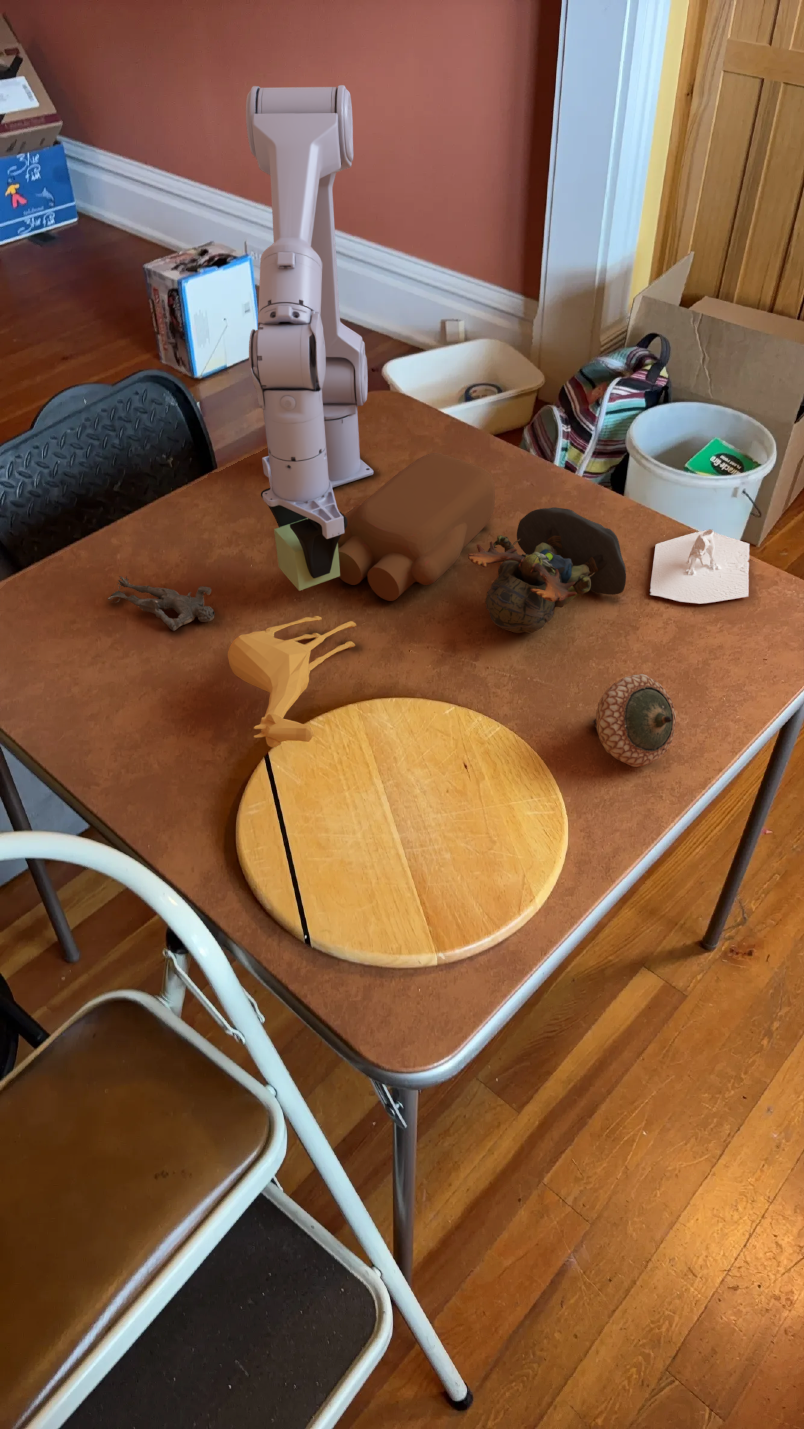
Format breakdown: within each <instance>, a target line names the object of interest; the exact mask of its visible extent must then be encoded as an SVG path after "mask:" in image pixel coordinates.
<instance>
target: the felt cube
mask: <svg viewBox="0 0 804 1429" xmlns="http://www.w3.org/2000/svg"><path fill="white" fill-rule="evenodd" d="M306 519H308V518H306ZM303 520H304V519H303ZM300 521H301V520H300ZM297 522H298V521H297ZM294 523H295V522H294ZM291 524H292V523H291ZM273 531H274V532H273V533H274V541H275V547H276V557H277V563H278V565H277V566H278V568H279V570H280V571H281V572H282V573H283V574H284V576H286V578H287V579H288V581H290V582H291V584H292V585H293V586H294V587H295V588H296V590H298V591H299V592H300V591H303V590H306V589H309V588H311V587H314V586H317V585H320V584H322V583H325V582H328V581H331V580H333V579H336V578H339V576H340V567H339V554H338V543H337V546H336V549H335V553H334V557H333V562H332V567H331V571H330V573H329V574H326V575H323V576H320V577H318V578H313V577H312V576H311V575H310V573H309V570H308V568H307V564H306V560H305V556H304V552H303V549H302V546H301V544H300V542H299V540H298V538H297V536H296V535H295V533H294V532H293V531H292V529H291V528H290V524H288V525H285V526H282V527H276V528H273Z"/></svg>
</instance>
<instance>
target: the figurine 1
mask: <svg viewBox="0 0 804 1429" xmlns="http://www.w3.org/2000/svg"><path fill="white" fill-rule="evenodd" d="M118 577H119V579H117V581H118V582H117V584H116V585H117V586H118V585H119V586H118V590H116V591H114V592H113V593H111V595H109V597H107V600H108V601H112V600H113V599H115V598H118V600H117V601H116V603H119V602H120V600H121V599H125V600H126V601H128V602H130V604H133V605H135V606H136V607H138V608H139V609H140V610H142V611H143V612H148V613H150V614H151V613H152V614H153V615H155V617H156V618H158V619H161V620H162V622H163V623H164V624H165V625H167V627H168V628H169V629H170V630H171V631H173V632H175V631H176V630H178V629H179V628H180V627H181V626H184V625H188V624H189V623H191V622H192V621H194V620H195V618H197V619H198V621H199V622H200V623H209V622H211V621H213V620H214V618H215V614H216V613H215V611H214V610H215V609H213V607H211V606H209V605H205V597H204V596H205V593H206V595H207V596H209V595H211V593H212V588H211V587H208V586H199V587H198V588H197V591H196V593H195V596H194V597H192V596H191V594H192V592H191V591H190V592H188V593H187V595H183V594H180V593H179V592H178V591H176V590H175V589H171V588H167V587H166V588H165V587H155V586H150V585H135V584H131V583H130V582H129V578H128V576H127V575H126V576H125V578H124V577H123V576H121V575H120V576H119V575H118ZM121 587H122V588H129V589H132V590H134V591H136V592H138V593H143V594H144V593H145V594H149V595H150V596H153V597H155V598H149V597H147V598H140V597H138V596H137V595H134V594H131V595H129V596H127V595H126V594H125V593H126V590H124V591H123V592H122V591H120V590H121ZM112 603H115V600H113V601H112ZM164 610H165V611H170V610H174V611H175V612H176V613H177V614H178V616H177V618H175V617H174V618H172V617H169V616H168V615H167V614H166V613H165V612H164Z"/></svg>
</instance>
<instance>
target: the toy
mask: <svg viewBox="0 0 804 1429" xmlns="http://www.w3.org/2000/svg"><path fill="white" fill-rule="evenodd" d="M495 505H496V485H495V480H494V478H493V475H492V474H491V473H490V471H489V470H487V469H485V468H483V467H481V466H479V465H477V464H474V463H471V462H468V461H466V460H463V459H460V458H457V457H453V456H450V455H447V454H443V453H439V452H430V453H427V454H424V455H423V456H420V458H417V459H416V460H414V461H413V462H412V463H410V464H409V465H407V466H406V467H404V468H403V469H402V470H400V471H399V472H397V473H396V474H395V475H394V476H393V477H391V478H390V479H389V480H387V482H385V483H384V484H383V485H382V486H380V487H379V489H377V490H376V491H375V492H374V493H372V494H371V495H370V496H368V497H367V498H366V499H365V500H364V501H363V502H361V503H360V504H359V505H356V506H355V507H354V508H352V509H351V510H349V511H348V512H346V514H344V516H345V517H346V518H347V523H348V524H347V527H346V529H345V530H344V533H343V534H342V535H341V537H340V539H339V541H338V554H339V567H340V576H339V577H338V578H339V579H340V580H341V581H343V582H344V583H346V584H348V585H351V586H355V585H359V584H360V583H361V582H362V581H363V580H364V579H365V578H366V577H367V583H368V585H369V587H370V588H371V590H372V591H373V592H374V593H375V594H376V595H377V596H378V597H379V598H381V599H383V600H385V601H388V602H393V601H396V600H397V599H399V598H400V596H401V595H403V593H405V591H407V590H408V589H409V588H410V587H411V586H412V585H413V584H414V583H419V584H420V585H424V586H428V585H429V586H430V585H432V584H434V583H435V582H437V581H438V580H439V579H440V578H441V577H442V576H443V575H444V574H445V573H446V572H447V571H449V570H450V569H451V568H452V566H454V565H455V563H456V562H457V561H458V560H459V558H460V556H461V553H462V551H463V549H465V548H466V547H467V546H468V545H469V544H470V543H471V542H472V540H474V539H475V538H476V536H477V535H479V533H481V531H482V530H483V529H484V528H485V527H486V526H487V524H488V523H489V522H490V520H491V518H492V516H493V514H494V511H495Z"/></svg>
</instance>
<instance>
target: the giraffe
mask: <svg viewBox="0 0 804 1429" xmlns="http://www.w3.org/2000/svg"><path fill="white" fill-rule="evenodd" d="M322 620H323V618H322V617H321V616H319V615H313V616H312V617H310V616H305V617H303V618H301V619H298V620H294V621H291V622H287V623H284V624H279V625H275V626H269V627H267V628H265V630H255V631H252V632H250V633H246V634H240V635H238V636H237V637H236V638H235V639H233V641H232V643H231V644H230V645H229V646H228V647H229V648H228V650H227V658H228V663H229V664H228V665H229V667H230V669H231V671H232V673H233V674H234V675H235V676H236V677H237V678H239V679H241V680H242V681H244V682H245V683H247V684H249V685H251V686H252V687H253V686H254V687H257V688H258V689H261V690H263V691H264V692H267V693H269V699H268V705H267V709H266V710H265V711H266V712H265V714H264V716H262V717H261V720H260V724H257V725H255V726H253V730H260V732H259V733H257V734H255V735H253V738H256V739H257V738H258V739H259V738H265V741H266V745H267V746H268V747H270V748H276V747H278V746H280V745H281V744H282V742H287V741H288V742H291V741H292V742H307V743H310V741H311V740H312V739H313V737H314V736H315V730H314V729H313V727H312V726H311V725H310V724H304V723H301V722H298V721H295V720H292V719H287V718H284V717H285V716H286V714H287V712H288V711H289V710H290V709H291V707H292V706H293V705H294V704H295V703H296V702H297V701H298V699H299V698H300V696H301V695H302V694H303V693H304V692H305V691H306V690H307V688H308V685H309V683H310V673H311V671H313V669H315V668H316V667H317V666H318V665H322V663H323V662H324V661H325V660H326V659H328V658H330V657H331V656H333V655H335V654H337V653H339V652H342V651H344V650H346V649H351V648H355V647H356V644H355V643H354V642H353V641H352V640H350V641H346V642H344V643H343V644H340V645H337V646H335V648H333V649H332V650H330V651H328V652H326V653H325V654H323V655H321V656H319V657H315V658H314V660H313V661H310V657H311V652H312V651H313V650H314V649H315V648H316V647H317V646H319V645H320V644H322V643H323V642H324V641H325V639H326V638H328V637H330V636H332V635H334V634H336V633H338V632H340V631H343V630H346V629H352V628H355V627H357V623H356V622H354V621H353V620H349V621H347V622H345V623H342V624H339V625H338V626H336V627H335V628H333V629H331V630H329V631H327V632H325V633H323V634H320V633H318V632H313V633H312V634H308V633H304V634H303V635H300V636H297V637H293V638H289V639H285V640H284V639H281V638H277V637H275V633H277V632H279V631H281V630H283V629H286V628H288V627H292V626H295V625H299V624H304V623H311V622H319V621H322ZM311 639H313V640H311ZM304 640H311V641H309V642H307V643H305V644H304V643H301V642H298V641H304Z"/></svg>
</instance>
